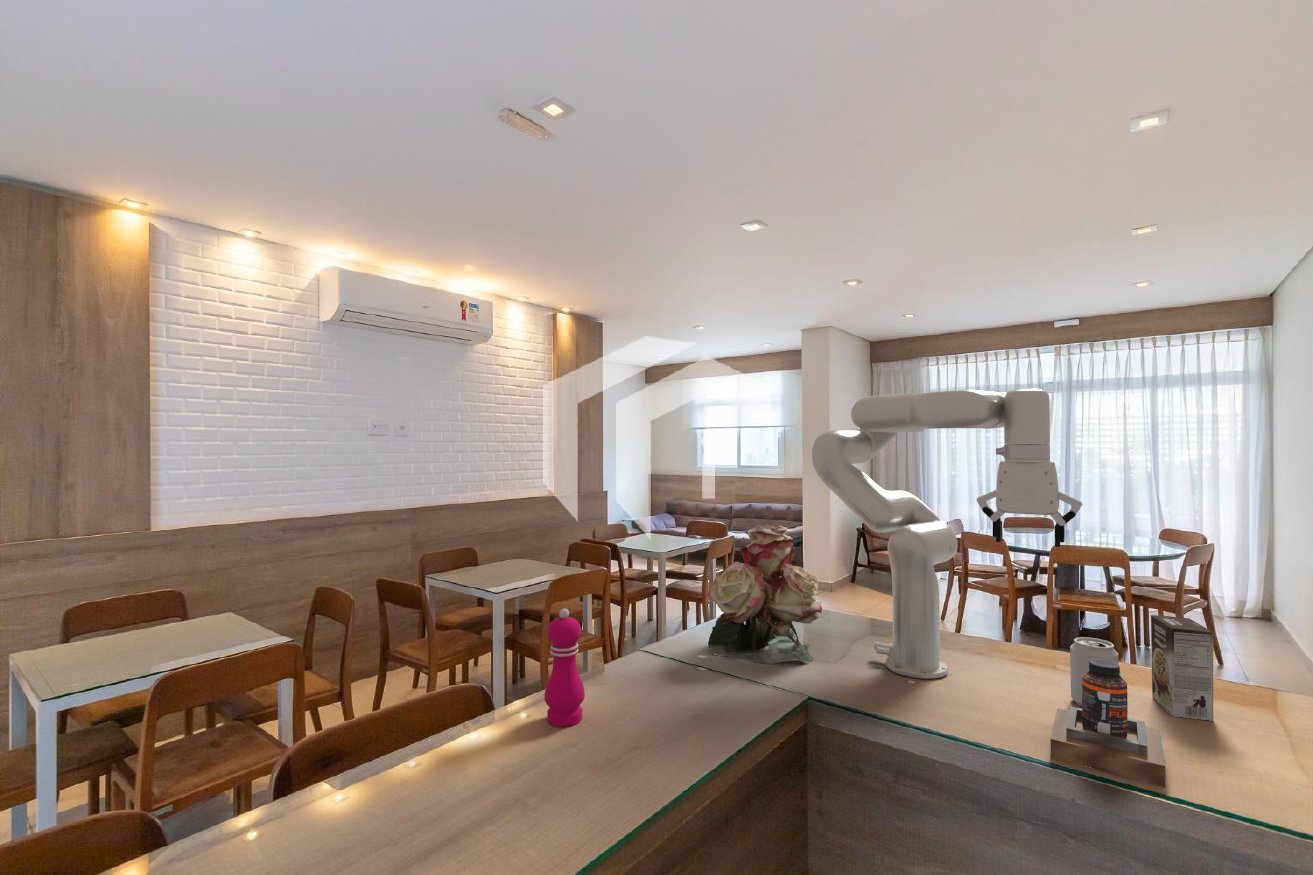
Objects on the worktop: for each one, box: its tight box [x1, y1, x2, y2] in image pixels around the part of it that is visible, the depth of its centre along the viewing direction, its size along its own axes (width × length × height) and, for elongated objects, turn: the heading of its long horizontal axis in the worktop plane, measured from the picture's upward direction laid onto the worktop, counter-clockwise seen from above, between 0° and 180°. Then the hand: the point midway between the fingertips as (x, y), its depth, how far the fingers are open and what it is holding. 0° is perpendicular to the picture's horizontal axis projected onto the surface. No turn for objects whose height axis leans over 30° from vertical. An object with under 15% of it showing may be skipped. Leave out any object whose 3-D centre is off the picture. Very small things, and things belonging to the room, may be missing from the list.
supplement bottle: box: [1081, 659, 1129, 739], centre depth 99 cm, size 6×6×11 cm
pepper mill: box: [544, 608, 586, 728], centre depth 112 cm, size 7×7×20 cm
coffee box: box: [1150, 614, 1215, 722], centre depth 115 cm, size 9×6×16 cm
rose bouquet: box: [707, 524, 823, 665], centre depth 151 cm, size 26×29×30 cm
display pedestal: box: [1050, 706, 1167, 788], centre depth 99 cm, size 14×14×4 cm
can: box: [1069, 636, 1120, 707], centre depth 117 cm, size 8×8×12 cm
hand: (1027, 543), depth 118 cm, fingers open, 9 cm apart
